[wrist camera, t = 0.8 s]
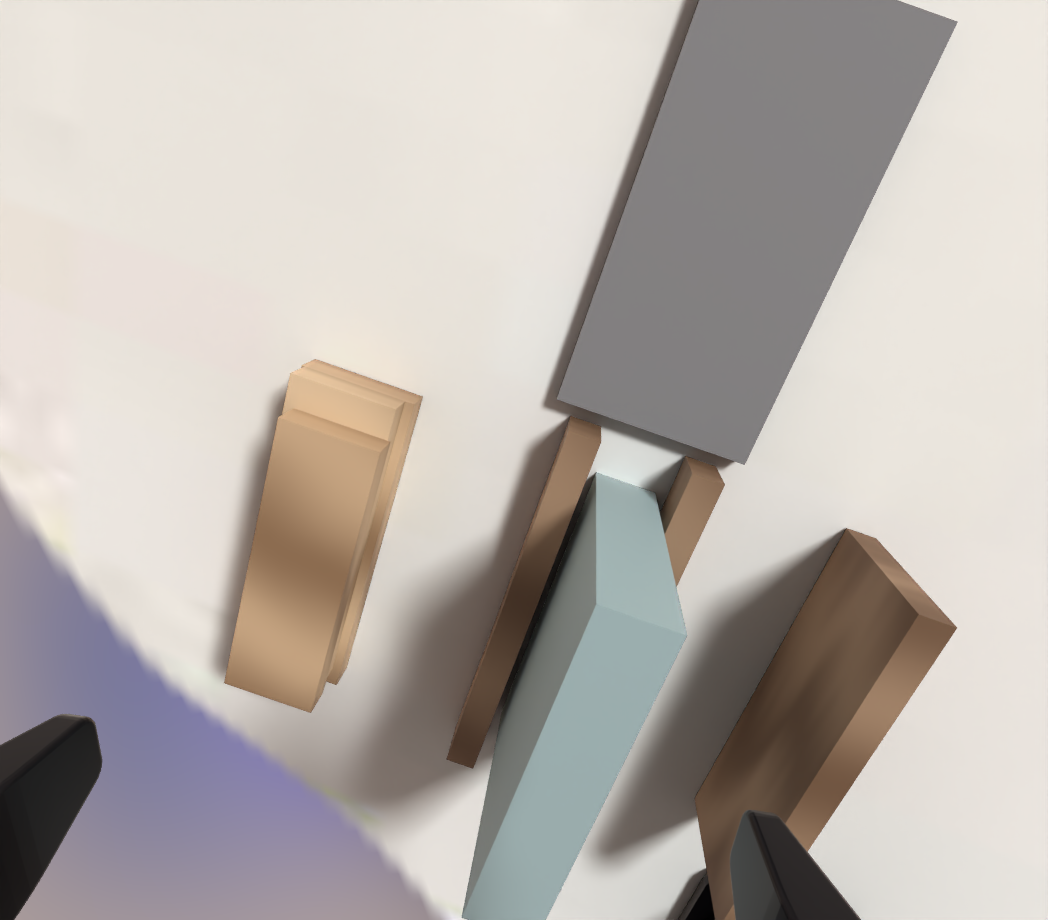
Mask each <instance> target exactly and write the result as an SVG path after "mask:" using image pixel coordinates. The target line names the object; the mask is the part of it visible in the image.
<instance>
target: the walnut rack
mask: <svg viewBox="0 0 1048 920" xmlns="http://www.w3.org/2000/svg"><path fill="white" fill-rule="evenodd" d="M600 443H601V426H598V425H596V424H593V423H590V422H587V421H584V420H581V419H578V418H575V417H573V416H570V419H569V422H568V424H567V427H566V430H565V433H564V435H563V438H562V441H561V443H560V446H559V449H558V452H557V454H556V457H555V460H554V462H553V465H552V468H551V471H550V473H549V476H548V479H547V481H546V484H545V487H544V490H543V492H542V495H541V498H540V500H539V503H538V506H537V508H536V511H535V514H534V517H533V519H532V522H531V525H530V527H529V530H528V533H527V536H526V538H525V541H524V544H523V546H522V549H521V552H520V555H519V557H518V560H517V563H516V565H515V568H514V571H513V574H512V576H511V579H510V582H509V584H508V587H507V590H506V593H505V595H504V598H503V601H502V603H501V606H500V609H499V611H498V614H497V617H496V620H495V622H494V625H493V628H492V630H491V633H490V636H489V639H488V641H487V644H486V647H485V649H484V652H483V655H482V658H481V660H480V663H479V666H478V668H477V671H476V674H475V677H474V679H473V682H472V685H471V687H470V690H469V693H468V696H467V698H466V701H465V704H464V706H463V709H462V712H461V714H460V717H459V720H458V723H457V725H456V728H455V732H454V735H453V739H452V742H451V746H450V749H449V753H448V756H447V760H450V761H452V762H455V763H458V764H461V765H464V766H467V767H470V768H473V767H474V765H475V762H476V760H477V757H478V755H479V752H480V750H481V747H482V744H483V742H484V739H485V737H486V734H487V732H488V729H489V727H490V724H491V722H492V719H493V716H494V714H495V711H496V709H497V706H498V704H499V701H500V699H501V696H502V693H503V691H504V688H505V686H506V683H507V681H508V678H509V676H510V673H511V671H512V668H513V665H514V663H515V660H516V658H517V655H518V653H519V650H520V648H521V645H522V642H523V640H524V637H525V635H526V632H527V630H528V627H529V625H530V622H531V619H532V617H533V614H534V612H535V609H536V607H537V604H538V602H539V599H540V597H541V594H542V591H543V589H544V586H545V584H546V581H547V579H548V576H549V574H550V571H551V568H552V566H553V563H554V561H555V558H556V556H557V553H558V551H559V548H560V546H561V543H562V540H563V538H564V535H565V533H566V530H567V528H568V525H569V523H570V520H571V517H572V515H573V512H574V510H575V507H576V505H577V502H578V500H579V497H580V495H581V492H582V489H583V487H584V484H585V482H586V479H587V477H588V474H589V472H590V469H591V466H592V464H593V461H594V459H595V456H596V454H597V451H598V449H599V446H600ZM724 486H725V484H724V482H723V480H722V478H721V476H720V474H719V472H718V470H717V468H716V466H713V465H710V464H707V463H705V462H702V461H699V460H696V459H693V458H690V457H687V456H685V458H684V460H683V463H682V465H681V467H680V469H679V472H678V474H677V476H676V478H675V481H674V483H673V485H672V487H671V490H670V492H669V494H668V496H667V499H666V501H665V503H664V505H663V508H662V510H661V512H660V517H661V521H662V526H663V530H664V535H665V539H666V544H667V548H668V553H669V557H670V561H671V566H672V570H673V575H674V579H675V584H676V587H677V585H678V583H679V580H680V578H681V576H682V574H683V572H684V570H685V568H686V566H687V564H688V561H689V559H690V557H691V555H692V553H693V551H694V549H695V547H696V545H697V543H698V540H699V538H700V536H701V534H702V532H703V530H704V528H705V526H706V524H707V521H708V519H709V517H710V515H711V513H712V511H713V509H714V507H715V505H716V503H717V500H718V498H719V496H720V494H721V492H722V490H723V488H724ZM956 629H957V627H956V626H955V625H954V624H953V623H952V622H951V620H950V619H949V618H948V617H947V616H946V615H945V614H944V613H943V612H942V611H941V609H940V608H939V607H938V606H937V605H936V604H935V603H934V602H933V601H932V600H931V598H930V597H929V596H928V595H927V594H926V593H925V592H924V591H923V590H922V589H921V587H920V586H919V585H918V584H917V583H916V582H915V581H914V580H913V579H912V577H911V576H910V575H909V574H908V573H907V572H906V571H905V570H904V569H903V568H902V566H901V565H900V564H899V563H898V562H897V561H896V560H895V559H894V558H893V557H892V555H891V554H890V553H889V552H888V551H887V550H886V549H885V548H884V547H883V546H882V544H881V543H880V542H879V541H878V540H877V539H876V538H873V537H870V536H867V535H864V534H862V533H859V532H856V531H853V530H850V529H847V528H846V530H845V532H844V533H843V535H842V537H841V539H840V540H839V542H838V544H837V546H836V548H835V549H834V551H833V553H832V555H831V556H830V558H829V560H828V562H827V564H826V565H825V567H824V569H823V571H822V573H821V574H820V576H819V578H818V580H817V581H816V583H815V585H814V587H813V589H812V590H811V592H810V594H809V596H808V597H807V599H806V601H805V603H804V605H803V606H802V608H801V610H800V612H799V613H798V615H797V617H796V619H795V621H794V622H793V624H792V626H791V628H790V630H789V631H788V633H787V635H786V637H785V638H784V640H783V642H782V644H781V646H780V647H779V649H778V651H777V653H776V654H775V656H774V658H773V660H772V662H771V663H770V665H769V667H768V669H767V670H766V672H765V674H764V676H763V678H762V679H761V681H760V683H759V685H758V687H757V688H756V690H755V692H754V694H753V695H752V697H751V699H750V701H749V703H748V704H747V706H746V708H745V710H744V711H743V713H742V715H741V717H740V719H739V720H738V722H737V724H736V726H735V727H734V729H733V731H732V733H731V735H730V736H729V738H728V740H727V742H726V744H725V745H724V747H723V749H722V751H721V752H720V754H719V756H718V758H717V760H716V761H715V763H714V765H713V767H712V768H711V770H710V772H709V774H708V776H707V777H706V779H705V781H704V783H703V784H702V786H701V788H700V790H699V792H698V793H697V795H696V797H695V805H696V810H697V816H698V822H699V828H700V834H701V840H702V845H703V851H704V857H705V863H706V869H707V875H708V881H709V886H710V892H711V898H712V904H713V910H714V916H715V920H735V911H734V902H733V893H732V883H731V874H730V854H731V849H732V846H733V842H734V839H735V836H736V833H737V830H738V827H739V824H740V821H741V817H742V815H743V813H744V812H745V811H746V810H757V811H764V812H771V813H774V814H776V815H777V816H779V817H780V818H781V819H782V820H783V822H784V823H785V824H786V825H787V827H788V828H789V829H790V831H791V832H792V833H793V834H794V836H795V837H796V838H797V839H798V841H799V842H800V843H801V844H802V846H803V847H804V848H805V849H806V851H807V852H808V850H809V849H810V847H811V846H812V844H813V843H814V841H815V840H816V838H817V837H818V835H819V834H820V832H821V831H822V829H823V828H824V826H825V825H826V823H827V822H828V820H829V819H830V817H831V816H832V814H833V813H834V811H835V810H836V808H837V807H838V805H839V804H840V802H841V801H842V799H843V798H844V796H845V795H846V793H847V792H848V790H849V789H850V787H851V786H852V784H853V783H854V781H855V780H856V778H857V777H858V775H859V774H860V772H861V771H862V769H863V768H864V766H865V765H866V763H867V762H868V760H869V759H870V757H871V756H872V754H873V753H874V751H875V750H876V748H877V747H878V745H879V744H880V742H881V741H882V739H883V738H884V736H885V735H886V733H887V732H888V731H889V729H890V728H891V726H892V725H893V723H894V722H895V720H896V719H897V717H898V716H899V714H900V713H901V711H902V710H903V708H904V707H905V705H906V704H907V702H908V701H909V699H910V698H911V696H912V695H913V693H914V692H915V690H916V689H917V687H918V686H919V684H920V683H921V681H922V680H923V678H924V677H925V675H926V674H927V672H928V671H929V669H930V668H931V666H932V665H933V663H934V662H935V660H936V659H937V657H938V656H939V654H940V653H941V651H942V650H943V648H944V647H945V645H946V644H947V642H948V641H949V639H950V638H951V636H952V635H953V633H954V632H955V630H956Z"/></svg>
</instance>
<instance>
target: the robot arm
mask: <svg viewBox="0 0 1048 920" xmlns="http://www.w3.org/2000/svg"><path fill="white" fill-rule="evenodd" d="M101 767H102V756H101V750H100V745H99V740H98V735H97V730H96V725H95V722H94V721H93V720H92V719H91V718H89V717H85V716H79V715H71V714H61V715H57V716H55V717H53V718H51V719H49V720H47V721H45V722H44V723H41V724H40V725H38V726H36V727H34V728H32V729H30V730H28V731H26V732H25V733H22V734H21V735H19V736H17V737H15V738H13V739H11V740H9V741H7V742H5V743H4V744H2V745H0V920H14V919H15V918H16V916H17V915H18V914H19V912H20V911H21V909H22V907H23V906H24V905H25V903H26V901H27V900H28V898H29V897H30V895H31V894H32V892H33V891H34V889H35V887H36V886H37V884H38V882H39V881H40V879H41V877H42V876H43V874H44V872H45V871H46V869H47V867H48V865H49V863H50V862H51V860H52V858H53V856H54V855H55V853H56V851H57V850H58V848H59V846H60V844H61V843H62V841H63V839H64V837H65V836H66V834H67V832H68V830H69V828H70V827H71V825H72V823H73V821H74V820H75V818H76V816H77V814H78V813H79V811H80V809H81V807H82V806H83V804H84V802H85V800H86V798H87V797H88V795H89V793H90V792H91V790H92V788H93V786H94V785H95V783H96V781H97V779H98V777H99V774H100V772H101ZM730 874H731V883H732V893H733V902H734V911H735V920H861V919H860V918H859V916H858V915H857V914H856V913H855V911H854V910H853V909H852V908H851V906H850V905H849V904H848V903H847V901H846V900H845V899H844V897H843V896H842V895H841V894H840V892H839V891H838V890H837V889H836V887H835V886H834V885H833V884H832V882H831V881H830V880H829V879H828V877H827V876H826V875H825V873H824V872H823V871H822V870H821V868H820V867H819V866H818V865H817V863H816V862H815V861H814V860H813V858H812V857H811V856H810V855H809V853H808V852H807V851H806V849H805V848H804V847H803V846H802V844H801V843H800V842H799V841H798V839H797V838H796V837H795V836H794V834H793V833H792V832H791V831H790V829H789V828H788V827H787V825H786V824H785V823H784V822H783V820H782V819H781V818H780V817H779V816H777V815H776V814H774V813H771V812H764V811H757V810H746V811H745V812H744V813H743V815H742V817H741V821H740V824H739V827H738V830H737V833H736V836H735V839H734V842H733V846H732V849H731V854H730ZM678 920H715V916H714V910H713V904H712V898H711V892H710V886H709V881H708V875H707V874H706V875H705V876H704V877H703V879H702V881H701V882H700V884H699V886H698V887H697V889H696V891H695V892H694V894H693V896H692V897H691V899H690V901H689V902H688V904H687V906H686V907H685V909H684V911H683V912H682V914H681V916H680V917H679V919H678Z"/></svg>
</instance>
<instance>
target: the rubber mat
mask: <svg viewBox="0 0 1048 920" xmlns="http://www.w3.org/2000/svg"><path fill="white" fill-rule="evenodd" d="M956 24H957V21H954V20H951V19H948V18H946V17H943V16H940V15H937V14H934V13H932V12H929V11H926V10H923V9H920V8H918V7H915V6H912V5H909V4H906V3H904V2H901V1H898V0H699V1H698V4H697V7H696V9H695V12H694V15H693V18H692V21H691V23H690V26H689V29H688V32H687V35H686V37H685V40H684V43H683V46H682V49H681V51H680V54H679V57H678V60H677V63H676V65H675V68H674V71H673V74H672V77H671V79H670V82H669V85H668V88H667V91H666V93H665V96H664V99H663V102H662V105H661V107H660V110H659V113H658V116H657V119H656V121H655V124H654V127H653V130H652V133H651V135H650V138H649V141H648V144H647V146H646V149H645V152H644V155H643V158H642V160H641V163H640V166H639V169H638V172H637V174H636V177H635V180H634V183H633V186H632V188H631V191H630V194H629V197H628V200H627V202H626V205H625V208H624V211H623V214H622V216H621V219H620V222H619V225H618V228H617V230H616V233H615V236H614V239H613V242H612V244H611V247H610V250H609V253H608V256H607V258H606V261H605V264H604V267H603V270H602V272H601V275H600V278H599V281H598V284H597V286H596V289H595V292H594V295H593V298H592V300H591V303H590V306H589V309H588V312H587V314H586V317H585V320H584V323H583V326H582V328H581V331H580V334H579V337H578V340H577V342H576V345H575V348H574V351H573V354H572V356H571V359H570V362H569V365H568V368H567V370H566V373H565V376H564V379H563V382H562V384H561V387H560V390H559V393H558V396H557V400H560V401H563V402H566V403H568V404H571V405H574V406H577V407H580V408H583V409H586V410H589V411H591V412H594V413H597V414H600V415H603V416H606V417H609V418H612V419H614V420H617V421H620V422H623V423H626V424H629V425H632V426H634V427H637V428H640V429H643V430H646V431H649V432H652V433H655V434H657V435H660V436H663V437H666V438H669V439H672V440H675V441H677V442H680V443H683V444H686V445H689V446H692V447H695V448H698V449H700V450H703V451H706V452H709V453H712V454H715V455H718V456H720V457H723V458H726V459H729V460H732V461H735V462H738V463H741V464H743V465H745V463H746V461H747V459H748V457H749V455H750V452H751V450H752V448H753V446H754V444H755V442H756V440H757V438H758V436H759V434H760V432H761V430H762V428H763V425H764V423H765V421H766V419H767V417H768V415H769V413H770V411H771V409H772V407H773V405H774V403H775V401H776V398H777V396H778V394H779V392H780V390H781V388H782V386H783V384H784V382H785V380H786V378H787V376H788V374H789V371H790V369H791V367H792V365H793V363H794V361H795V359H796V357H797V355H798V353H799V351H800V349H801V346H802V344H803V342H804V340H805V338H806V336H807V334H808V332H809V330H810V328H811V326H812V324H813V322H814V319H815V317H816V315H817V313H818V311H819V309H820V307H821V305H822V303H823V301H824V299H825V297H826V295H827V292H828V290H829V288H830V286H831V284H832V282H833V280H834V278H835V276H836V274H837V272H838V270H839V268H840V265H841V263H842V261H843V259H844V257H845V255H846V253H847V251H848V249H849V247H850V245H851V243H852V240H853V238H854V236H855V234H856V232H857V230H858V228H859V226H860V224H861V222H862V220H863V218H864V216H865V213H866V211H867V209H868V207H869V205H870V203H871V201H872V199H873V197H874V195H875V193H876V191H877V189H878V186H879V184H880V182H881V180H882V178H883V176H884V174H885V172H886V170H887V168H888V166H889V164H890V162H891V159H892V157H893V155H894V153H895V151H896V149H897V147H898V145H899V143H900V141H901V139H902V137H903V134H904V132H905V130H906V128H907V126H908V124H909V122H910V120H911V118H912V116H913V114H914V112H915V110H916V107H917V105H918V103H919V101H920V99H921V97H922V95H923V93H924V91H925V89H926V87H927V85H928V83H929V80H930V78H931V76H932V74H933V72H934V70H935V68H936V66H937V64H938V62H939V60H940V58H941V56H942V53H943V51H944V49H945V47H946V45H947V43H948V41H949V39H950V37H951V35H952V33H953V31H954V28H955V26H956Z"/></svg>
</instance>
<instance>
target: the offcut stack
mask: <svg viewBox="0 0 1048 920" xmlns="http://www.w3.org/2000/svg"><path fill="white" fill-rule="evenodd" d="M422 398H423V397H422V396H419V395H416V394H414V393H411V392H408V391H405V390H402V389H399V388H396V387H393V386H391V385H388V384H385V383H382V382H379V381H376V380H373V379H370V378H368V377H365V376H362V375H359V374H356V373H353V372H350V371H347V370H345V369H342V368H339V367H336V366H333V365H330V364H327V363H325V362H322V361H319V360H316V359H315V360H312V361H310V362H308V363H306V364H304V365H302V367H301V368H300V369H298V370H296V371H294V372H292V373H290V378H289V383H288V388H287V393H286V398H285V402H284V407H283V412H282V415H281V416H279V417H278V421H277V426H276V430H275V435H274V440H273V445H272V450H271V455H270V460H269V465H268V470H267V475H266V480H265V485H264V490H263V495H262V499H261V504H260V509H259V514H258V519H257V524H256V529H255V534H254V539H253V544H252V549H251V554H250V559H249V564H248V568H247V573H246V578H245V583H244V588H243V593H242V598H241V603H240V608H239V613H238V618H237V623H236V628H235V633H234V637H233V642H232V647H231V652H230V657H229V662H228V667H227V672H226V677H225V682H224V683H225V684H228V685H231V686H234V687H237V688H240V689H243V690H246V691H249V692H252V693H254V694H257V695H260V696H263V697H266V698H269V699H272V700H275V701H278V702H281V703H284V704H286V705H289V706H292V707H295V708H298V709H301V710H304V711H307V712H310V713H311V712H312V710H313V708H314V707H315V705H316V703H317V702H318V700H319V698H320V697H321V695H322V693H323V690H324V686H325V683H326V681H327V682H329V683H332V684H335V685H337V683H338V682H339V680H340V678H341V676H342V675H343V673H344V671H345V669H346V668H347V664H348V661H349V657H350V654H351V650H352V646H353V643H354V639H355V636H356V632H357V629H358V625H359V622H360V618H361V615H362V611H363V607H364V604H365V600H366V597H367V593H368V590H369V586H370V583H371V579H372V576H373V572H374V568H375V565H376V561H377V558H378V554H379V551H380V547H381V544H382V540H383V536H384V533H385V529H386V526H387V522H388V519H389V515H390V512H391V508H392V505H393V501H394V497H395V494H396V490H397V487H398V483H399V480H400V476H401V473H402V469H403V466H404V462H405V458H406V455H407V451H408V448H409V444H410V441H411V437H412V434H413V430H414V427H415V423H416V419H417V416H418V412H419V409H420V405H421V402H422Z"/></svg>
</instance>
